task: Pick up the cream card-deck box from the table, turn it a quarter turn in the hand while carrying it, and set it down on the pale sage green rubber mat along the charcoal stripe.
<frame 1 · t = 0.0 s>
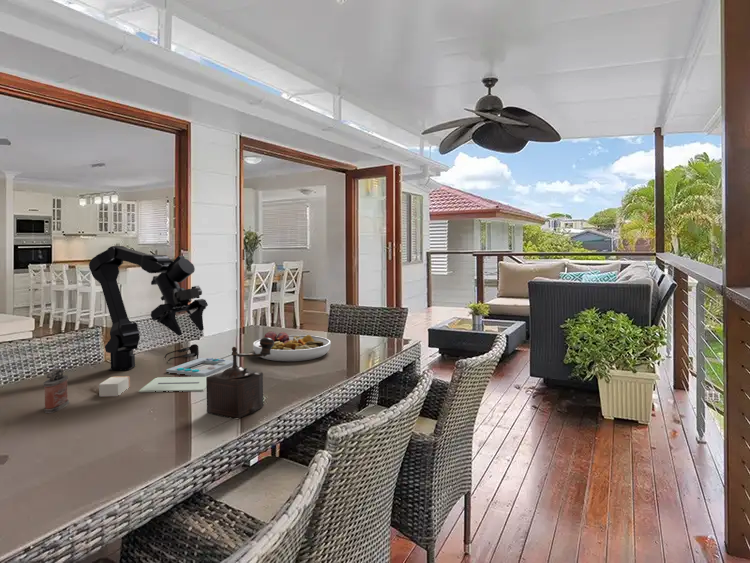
hand: (191, 332, 152), 15 cm above the table, tool tilted 35°, fingers open, 9 cm apart
sunglasses: (182, 360, 180), on the table
deck: (115, 392, 140), on the table
electronic device: (202, 370, 167), on the table
lighter: (57, 408, 126), on the table
mat: (178, 384, 147), on the table
bowl: (292, 355, 191), on the table
manual coffee grinder: (243, 408, 128), on the table
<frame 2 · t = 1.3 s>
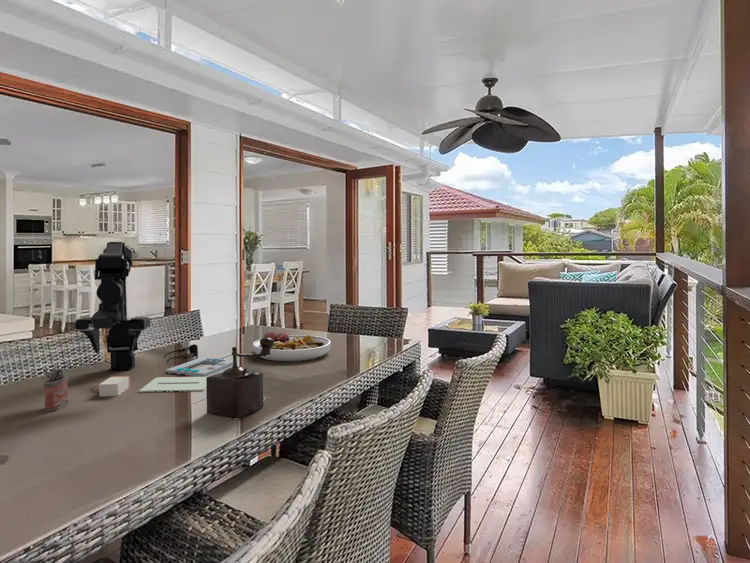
hand: (114, 353, 139), 11 cm above the table, tool pointing down, fingers open, 9 cm apart
nothing on the table moved.
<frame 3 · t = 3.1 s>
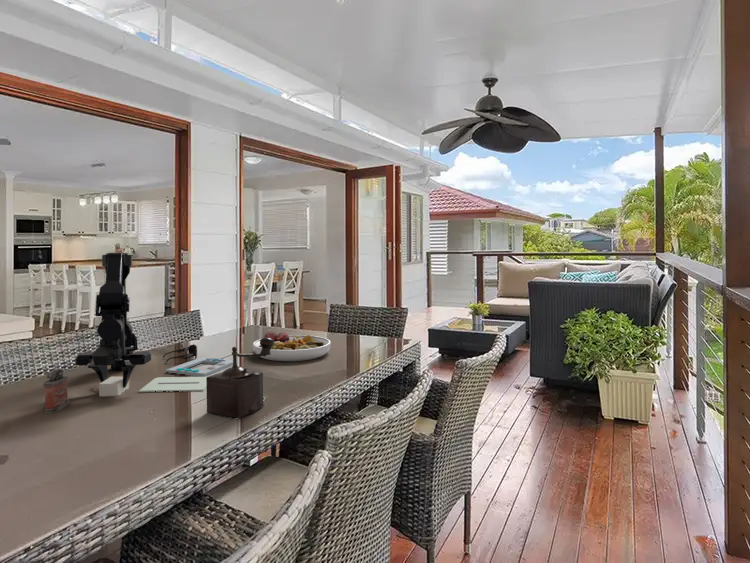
hand: (114, 387, 140), 1 cm above the table, tool pointing down, fingers closed on deck, 5 cm apart
deck: (115, 391, 140), on the table, touching gripper
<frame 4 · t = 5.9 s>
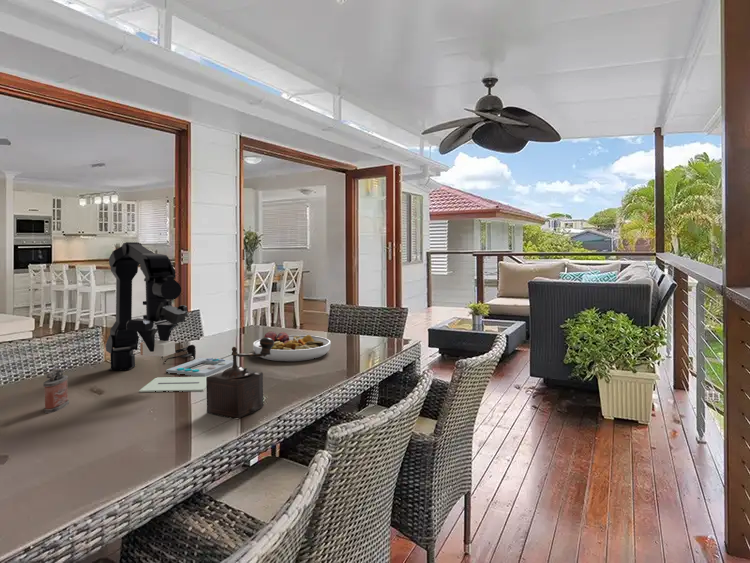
hand: (158, 349, 144), 11 cm above the table, tool pointing down, fingers closed on deck, 5 cm apart
deck: (158, 353, 144), point 10 cm above the table, touching gripper
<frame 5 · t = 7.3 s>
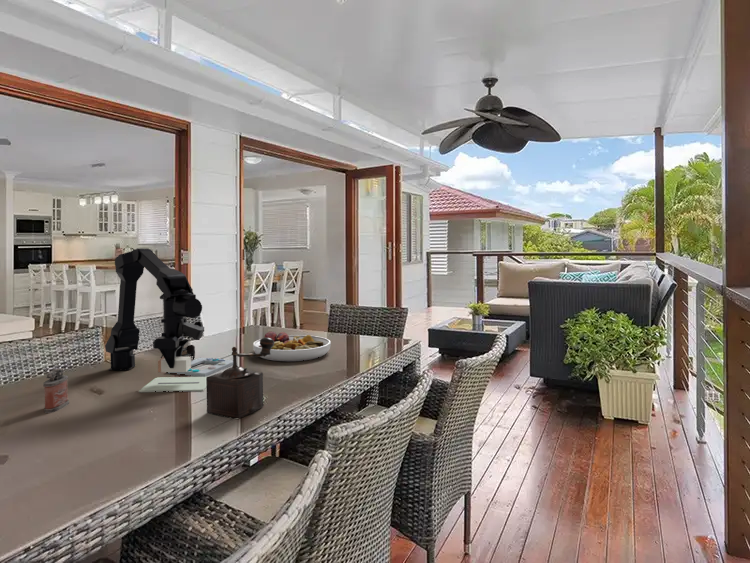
hand: (174, 365, 147), 6 cm above the table, tool pointing down, fingers closed on deck, 5 cm apart
deck: (175, 369, 147), point 5 cm above the table, touching gripper
when the fingers open (3 cm above the table, at t = 8.6 s): deck drops 1 cm, resting on mat.
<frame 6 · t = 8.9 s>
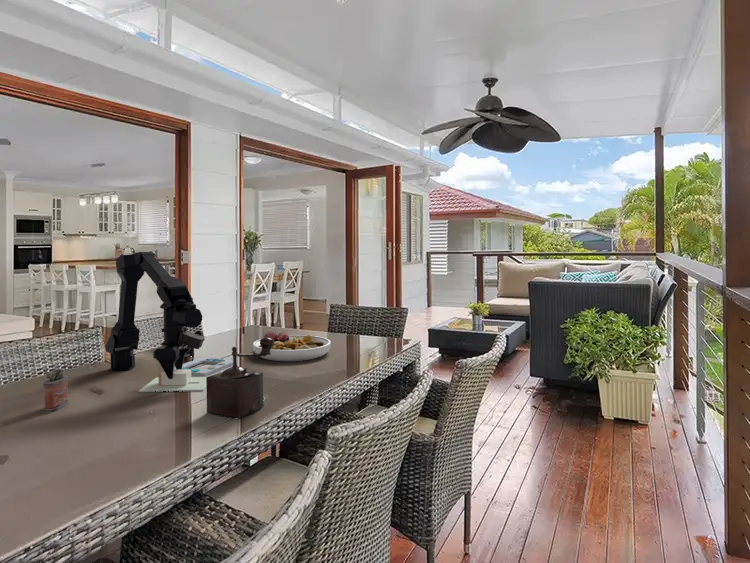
hand: (175, 375, 147), 3 cm above the table, tool pointing down, fingers open, 8 cm apart
deck: (175, 382, 147), point 1 cm above the table, touching mat
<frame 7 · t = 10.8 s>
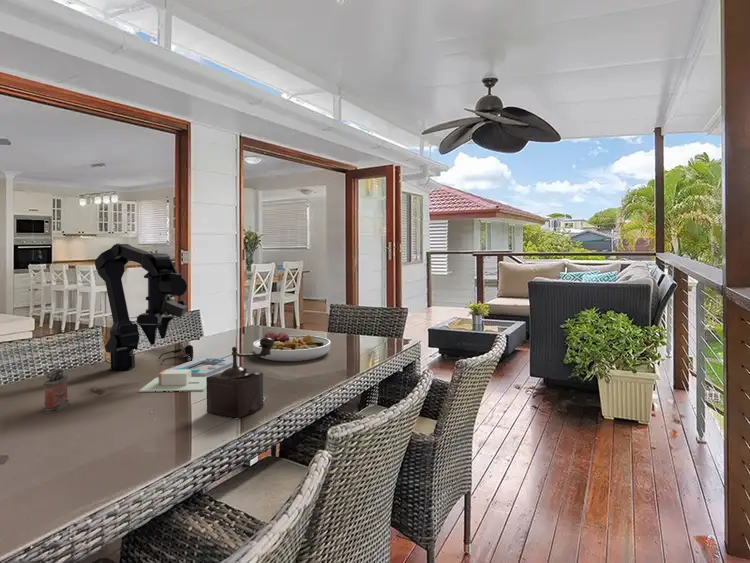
hand: (157, 341, 156), 11 cm above the table, tool pointing down, fingers open, 9 cm apart
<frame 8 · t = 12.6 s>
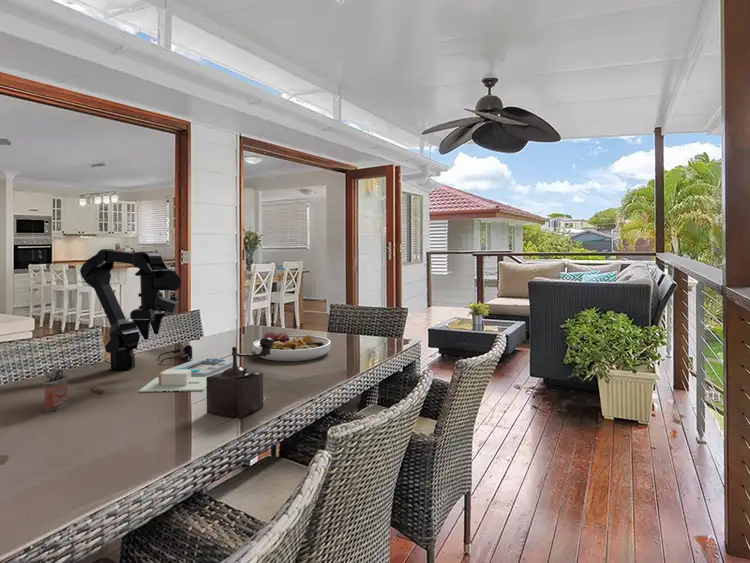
hand: (151, 336, 160), 12 cm above the table, tool pointing down, fingers open, 9 cm apart
at the end: deck inside the target area on the mat (1.0 cm from its centre), point 0.6 cm above the mat's base; deck tilted 0°; the gripper is holding nothing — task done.
